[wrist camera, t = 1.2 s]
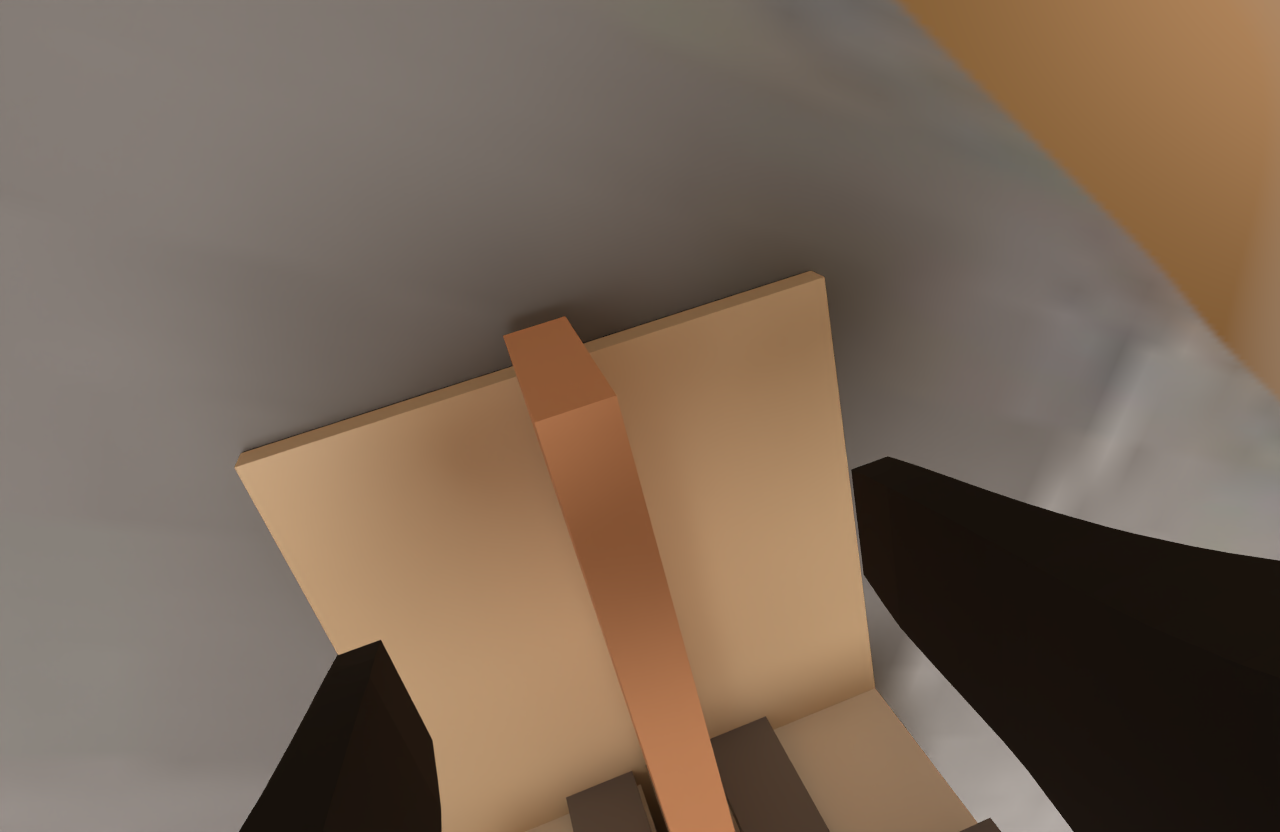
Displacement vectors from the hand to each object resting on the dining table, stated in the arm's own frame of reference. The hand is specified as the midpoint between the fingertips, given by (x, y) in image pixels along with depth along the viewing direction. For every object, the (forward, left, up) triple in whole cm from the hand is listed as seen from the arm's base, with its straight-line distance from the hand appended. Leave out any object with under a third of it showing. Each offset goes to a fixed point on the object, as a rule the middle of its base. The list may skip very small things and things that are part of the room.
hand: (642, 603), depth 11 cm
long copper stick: (-7, 0, -5) cm, 9 cm away
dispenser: (-10, 0, -6) cm, 11 cm away
